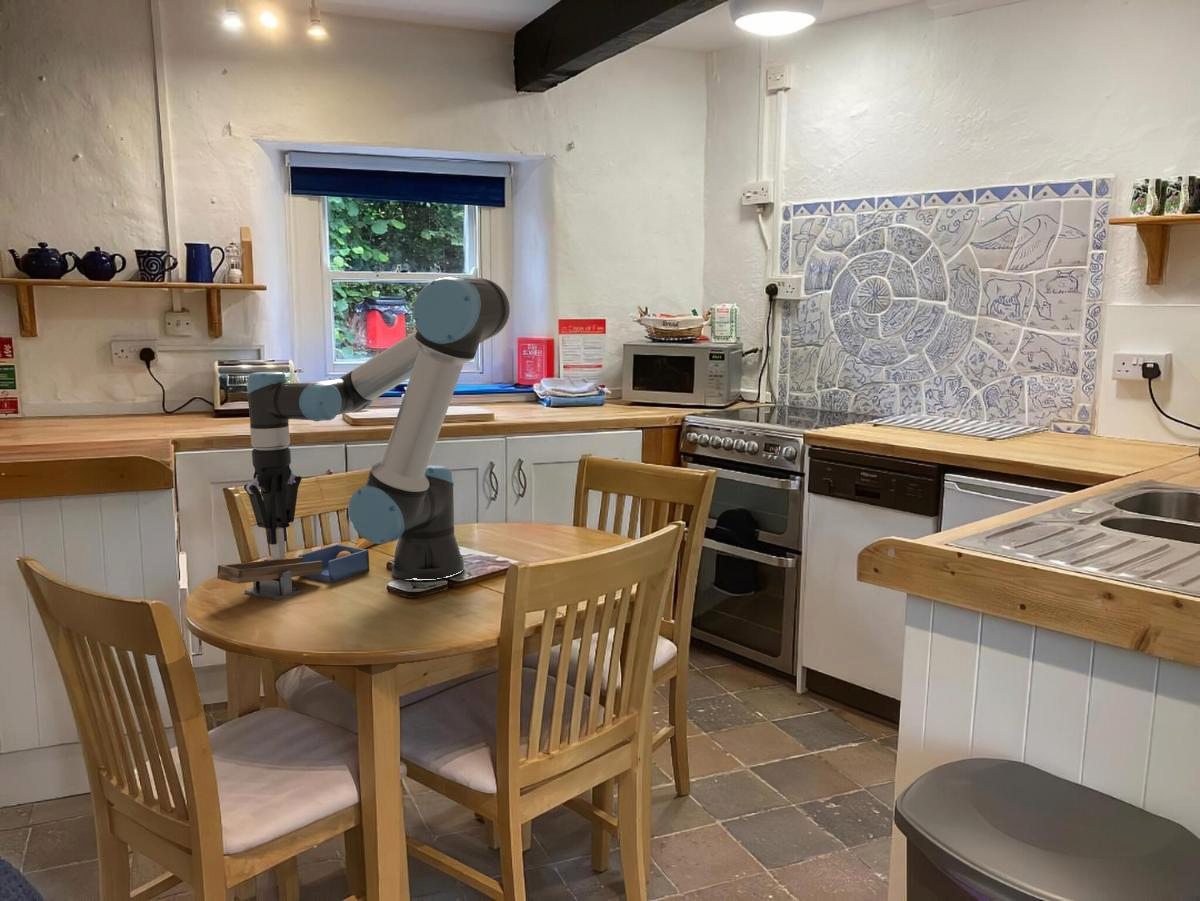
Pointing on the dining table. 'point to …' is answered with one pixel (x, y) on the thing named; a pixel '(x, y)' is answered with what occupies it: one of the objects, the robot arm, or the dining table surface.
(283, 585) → the stand
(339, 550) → the tray
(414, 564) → the robot arm
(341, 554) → the ball
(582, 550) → the dining table surface
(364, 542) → the carrot
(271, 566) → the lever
